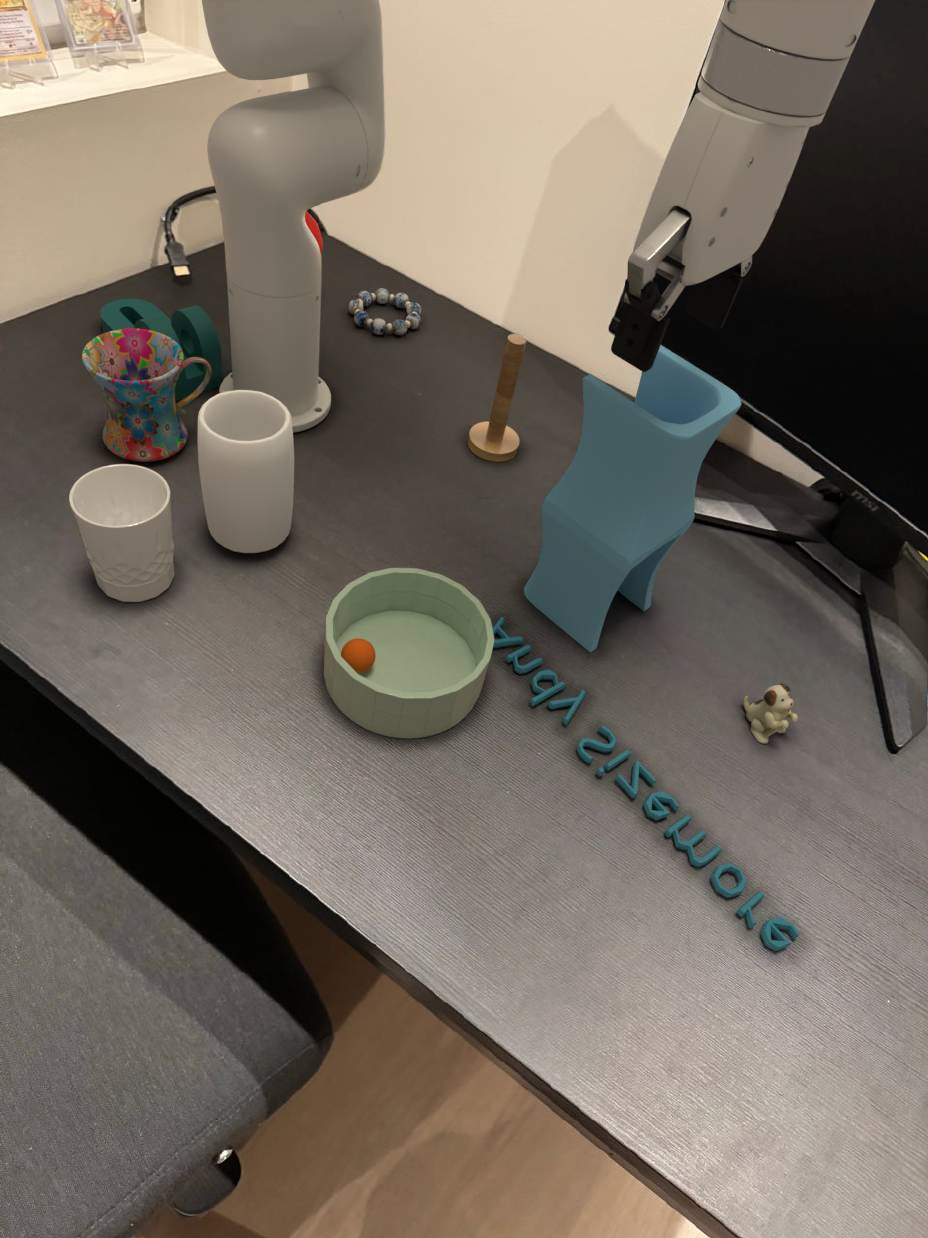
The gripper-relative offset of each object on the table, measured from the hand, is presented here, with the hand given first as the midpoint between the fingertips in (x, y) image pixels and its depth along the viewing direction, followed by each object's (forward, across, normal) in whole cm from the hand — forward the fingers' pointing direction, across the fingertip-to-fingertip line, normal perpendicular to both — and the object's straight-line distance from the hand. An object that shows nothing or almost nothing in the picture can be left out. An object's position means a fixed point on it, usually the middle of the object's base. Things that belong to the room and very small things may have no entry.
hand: (667, 339), depth 61 cm
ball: (+28, +21, -8) cm, 36 cm away
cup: (+31, +17, -27) cm, 44 cm away
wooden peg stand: (+30, -14, -22) cm, 40 cm away
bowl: (+30, +17, -5) cm, 35 cm away
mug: (+31, +16, -44) cm, 56 cm away
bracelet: (+31, -22, -49) cm, 62 cm away
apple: (+31, -15, -60) cm, 69 cm away
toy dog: (+30, -4, +21) cm, 37 cm away
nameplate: (+30, +11, +15) cm, 35 cm away
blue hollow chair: (+30, -3, 0) cm, 30 cm away
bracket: (+31, +7, -58) cm, 66 cm away
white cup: (+31, +29, -29) cm, 51 cm away
